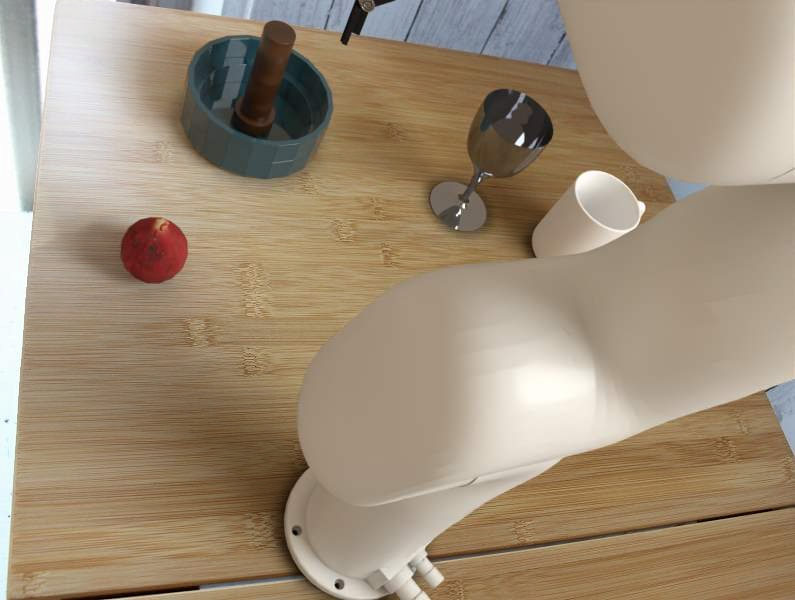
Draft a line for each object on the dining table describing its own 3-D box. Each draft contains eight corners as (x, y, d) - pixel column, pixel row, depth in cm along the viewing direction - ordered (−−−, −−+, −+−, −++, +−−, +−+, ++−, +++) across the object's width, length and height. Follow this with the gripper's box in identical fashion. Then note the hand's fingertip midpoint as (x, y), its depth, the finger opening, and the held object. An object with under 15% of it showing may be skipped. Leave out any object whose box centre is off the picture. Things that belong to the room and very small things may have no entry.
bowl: (344, 152, 94) (361, 116, 89) (238, 202, 85) (250, 165, 81) (261, 60, 97) (273, 20, 92) (150, 99, 88) (157, 57, 83)
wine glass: (415, 182, 96) (470, 90, 84) (471, 175, 100) (531, 86, 88) (444, 239, 93) (505, 152, 81) (500, 229, 97) (566, 144, 85)
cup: (518, 226, 98) (562, 172, 90) (595, 217, 104) (642, 165, 96) (548, 286, 95) (596, 235, 87) (625, 272, 101) (677, 224, 93)
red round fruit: (168, 308, 76) (181, 260, 70) (106, 285, 75) (114, 235, 69) (189, 260, 80) (204, 210, 73) (131, 237, 79) (140, 185, 72)
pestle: (279, 130, 92) (311, 41, 81) (248, 143, 89) (277, 53, 79) (254, 102, 92) (283, 11, 82) (222, 114, 90) (248, 22, 80)
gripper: (222, -211, 56) (185, -4, 69) (457, -100, 59) (378, 78, 72) (254, -253, 60) (213, -51, 74) (471, -148, 63) (394, 28, 77)
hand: (295, 13), depth 73 cm, fingers open, 9 cm apart
